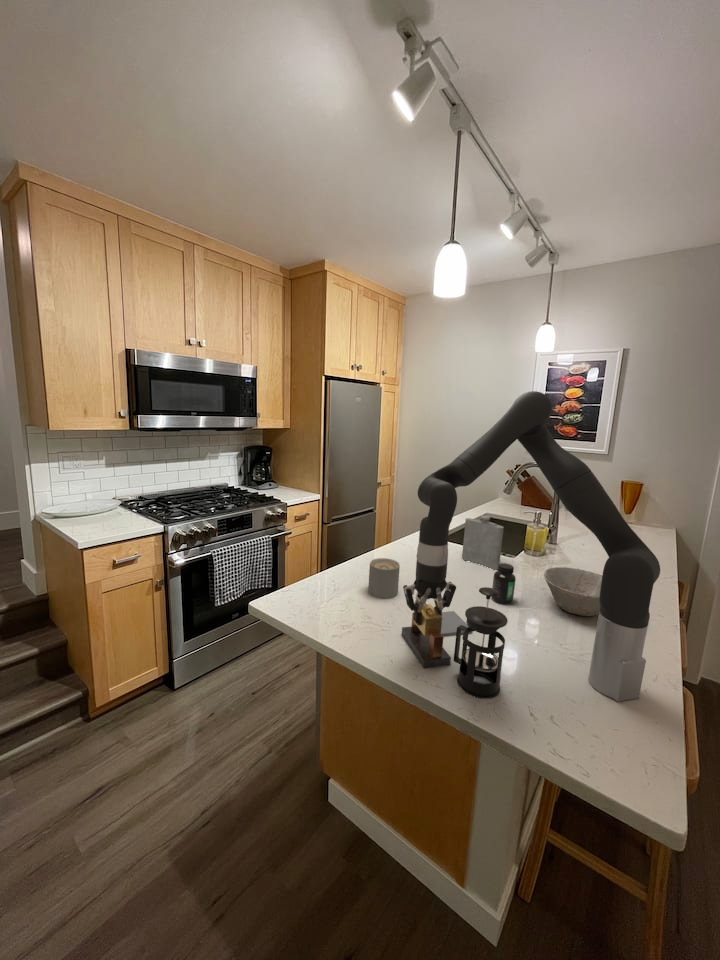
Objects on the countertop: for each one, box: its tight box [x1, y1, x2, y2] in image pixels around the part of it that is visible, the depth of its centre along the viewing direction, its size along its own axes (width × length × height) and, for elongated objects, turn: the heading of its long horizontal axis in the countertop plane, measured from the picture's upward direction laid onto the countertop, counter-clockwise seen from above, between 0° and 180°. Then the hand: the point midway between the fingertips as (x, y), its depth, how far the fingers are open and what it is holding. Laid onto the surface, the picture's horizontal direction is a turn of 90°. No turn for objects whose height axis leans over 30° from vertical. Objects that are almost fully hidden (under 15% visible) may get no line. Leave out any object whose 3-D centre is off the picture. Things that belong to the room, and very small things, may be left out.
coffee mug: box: [367, 557, 401, 600], centre depth 137 cm, size 13×10×10 cm
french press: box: [453, 586, 508, 699], centre depth 91 cm, size 12×9×23 cm
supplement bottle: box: [490, 562, 517, 605], centre depth 134 cm, size 7×7×12 cm
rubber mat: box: [441, 610, 474, 637], centre depth 118 cm, size 11×11×1 cm
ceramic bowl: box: [543, 566, 603, 617], centre depth 130 cm, size 22×23×10 cm
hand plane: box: [401, 612, 452, 669], centre depth 105 cm, size 15×7×8 cm, turn 15°
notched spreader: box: [461, 515, 504, 571], centre depth 164 cm, size 16×4×20 cm, turn 47°
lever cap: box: [414, 603, 442, 636], centre depth 103 cm, size 7×4×6 cm, turn 15°
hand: (427, 622), depth 103 cm, fingers closed on lever cap, 4 cm apart
